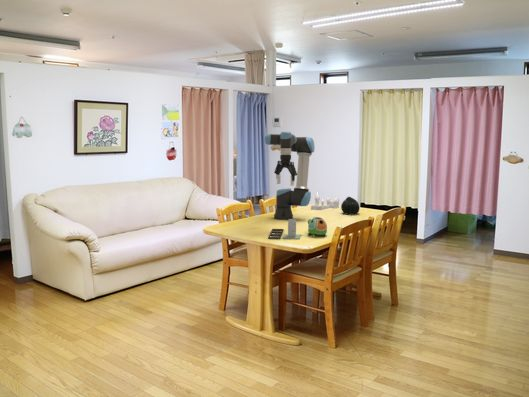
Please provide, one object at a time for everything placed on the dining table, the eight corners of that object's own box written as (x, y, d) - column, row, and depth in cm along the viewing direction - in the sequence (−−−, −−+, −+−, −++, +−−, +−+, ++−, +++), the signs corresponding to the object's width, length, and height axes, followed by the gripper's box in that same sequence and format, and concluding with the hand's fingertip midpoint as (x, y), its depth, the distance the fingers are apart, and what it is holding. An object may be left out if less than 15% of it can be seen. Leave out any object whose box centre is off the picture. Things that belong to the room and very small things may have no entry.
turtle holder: (317, 231, 343) (317, 214, 341) (330, 236, 326) (331, 219, 324) (301, 232, 338) (301, 215, 336) (314, 238, 321) (314, 220, 319)
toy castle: (310, 209, 430) (310, 191, 427) (326, 206, 448) (327, 188, 445) (323, 211, 420) (324, 192, 418) (340, 208, 438) (340, 190, 436)
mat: (283, 238, 319) (283, 237, 319) (284, 234, 330) (284, 234, 330) (299, 239, 318) (299, 238, 318) (300, 235, 329) (300, 234, 329)
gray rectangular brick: (287, 236, 322) (288, 220, 320) (288, 235, 327) (288, 219, 325) (295, 237, 321) (295, 220, 320) (296, 235, 326) (296, 219, 325)
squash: (359, 209, 397) (359, 194, 406) (341, 209, 400) (341, 194, 408) (359, 218, 409) (359, 203, 417) (341, 218, 412) (341, 203, 420)
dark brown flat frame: (272, 230, 344) (272, 228, 344) (283, 230, 343) (283, 229, 343) (268, 238, 319) (268, 237, 319) (280, 239, 318) (280, 237, 318)
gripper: (269, 153, 348) (269, 183, 351) (294, 155, 329) (294, 186, 332) (277, 153, 352) (276, 182, 356) (302, 154, 334) (302, 185, 337)
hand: (285, 184), depth 344 cm, fingers open, 13 cm apart
